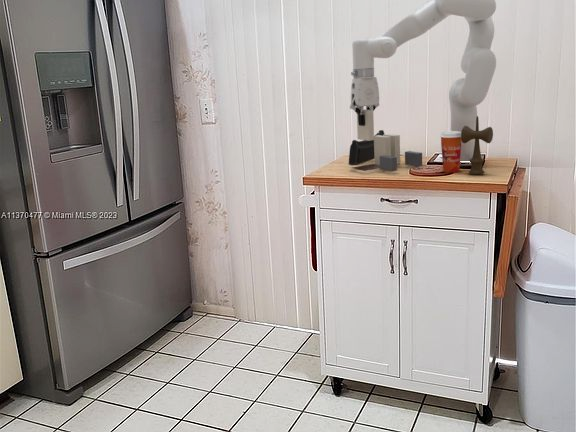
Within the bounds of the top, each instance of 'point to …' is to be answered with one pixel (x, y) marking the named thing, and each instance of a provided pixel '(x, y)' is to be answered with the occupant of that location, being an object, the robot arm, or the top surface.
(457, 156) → the paper cup
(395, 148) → the white book
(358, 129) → the white book
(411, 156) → the grey book
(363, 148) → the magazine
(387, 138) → the white book
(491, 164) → the top surface
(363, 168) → the shelf board
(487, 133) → the kendama
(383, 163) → the grey book
